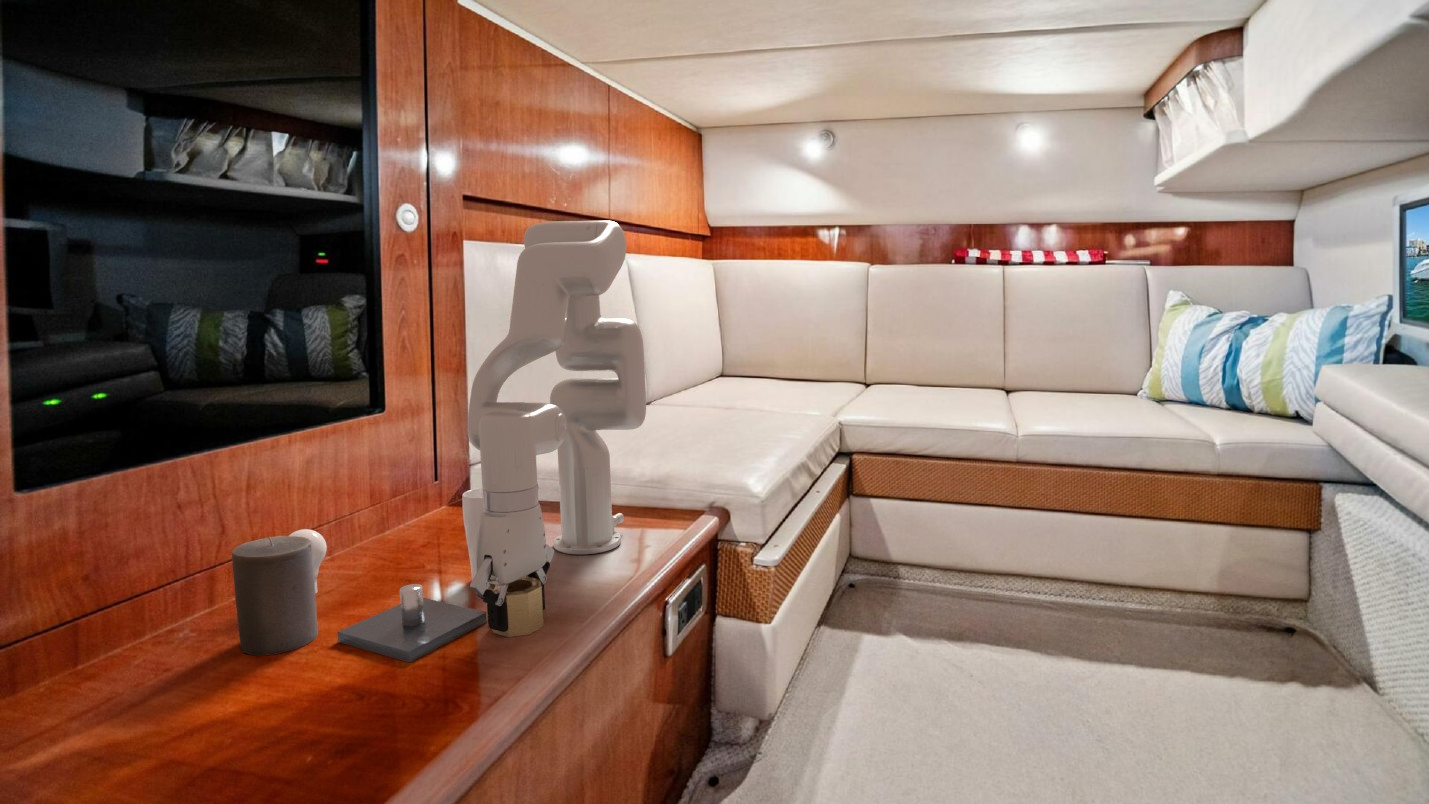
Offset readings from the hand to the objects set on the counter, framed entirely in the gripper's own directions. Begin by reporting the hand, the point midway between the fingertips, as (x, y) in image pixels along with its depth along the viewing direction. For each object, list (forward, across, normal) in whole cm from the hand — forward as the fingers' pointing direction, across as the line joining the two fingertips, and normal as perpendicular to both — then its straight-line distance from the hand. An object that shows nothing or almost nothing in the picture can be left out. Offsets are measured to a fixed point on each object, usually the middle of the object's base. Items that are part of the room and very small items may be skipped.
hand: (517, 618), depth 113 cm
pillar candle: (+1, +18, -27) cm, 32 cm away
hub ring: (+1, 0, 0) cm, 1 cm away
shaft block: (+1, +8, -12) cm, 14 cm away
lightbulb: (+1, +6, -38) cm, 38 cm away
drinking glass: (+1, -12, -17) cm, 21 cm away
